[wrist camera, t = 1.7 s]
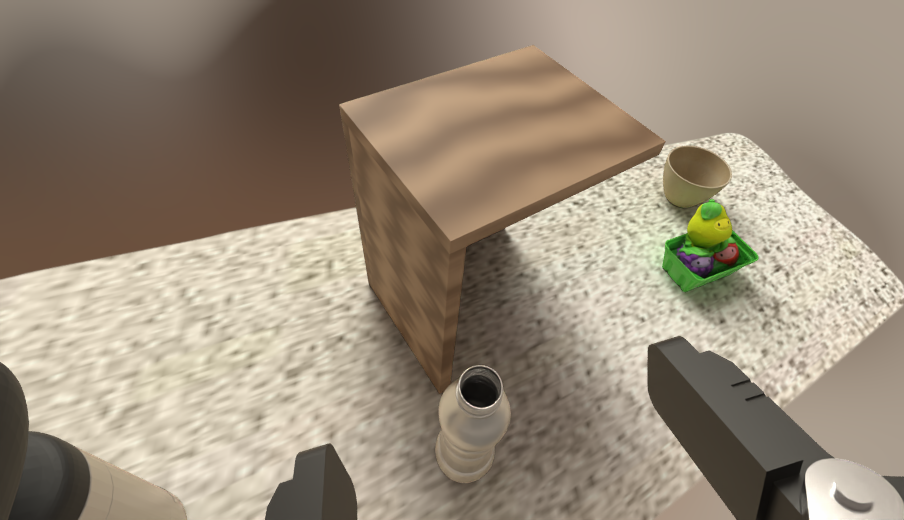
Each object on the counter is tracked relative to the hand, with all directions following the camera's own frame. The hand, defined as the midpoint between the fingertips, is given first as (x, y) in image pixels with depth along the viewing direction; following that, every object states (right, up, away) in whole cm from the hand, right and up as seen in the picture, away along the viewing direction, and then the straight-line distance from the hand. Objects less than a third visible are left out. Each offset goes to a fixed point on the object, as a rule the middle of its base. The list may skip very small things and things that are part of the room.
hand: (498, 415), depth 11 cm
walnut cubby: (+2, -1, +54) cm, 54 cm away
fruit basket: (+35, +2, +59) cm, 69 cm away
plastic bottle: (0, -18, +41) cm, 45 cm away
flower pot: (+38, +14, +68) cm, 80 cm away
